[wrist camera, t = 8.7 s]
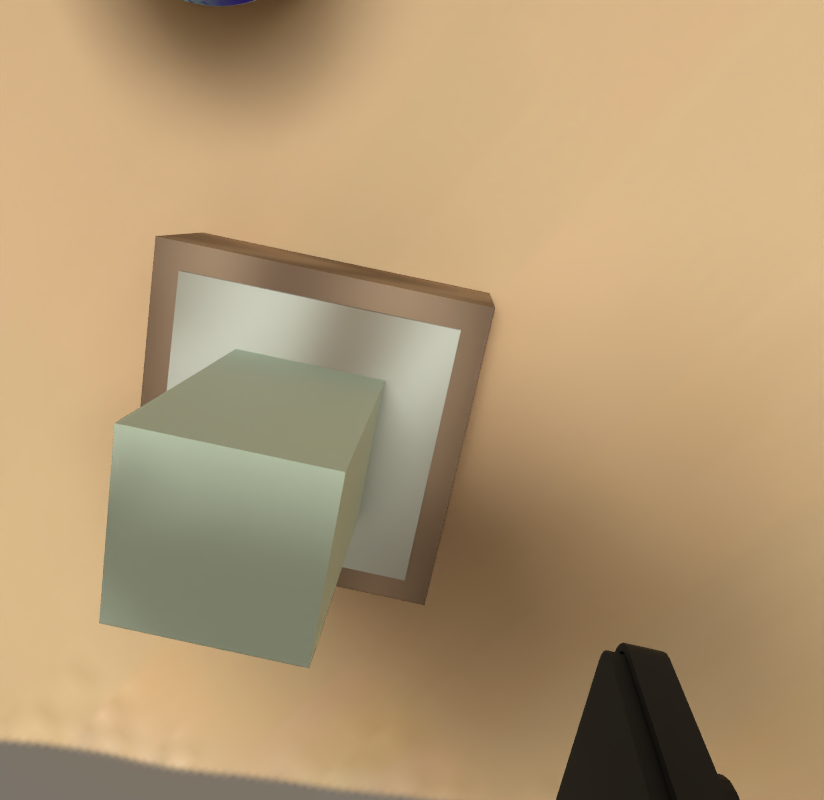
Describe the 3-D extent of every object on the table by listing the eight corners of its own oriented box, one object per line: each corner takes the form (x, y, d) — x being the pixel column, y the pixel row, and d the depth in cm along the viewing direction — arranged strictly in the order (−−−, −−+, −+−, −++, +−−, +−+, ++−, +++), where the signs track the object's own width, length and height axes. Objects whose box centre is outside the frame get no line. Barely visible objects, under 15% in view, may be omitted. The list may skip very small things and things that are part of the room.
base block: (488, 293, 25) (495, 308, 21) (428, 550, 28) (424, 607, 24) (202, 232, 25) (153, 236, 21) (173, 496, 28) (126, 543, 24)
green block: (385, 380, 22) (345, 472, 14) (358, 516, 23) (309, 668, 15) (235, 348, 22) (114, 423, 14) (218, 486, 23) (99, 623, 15)
